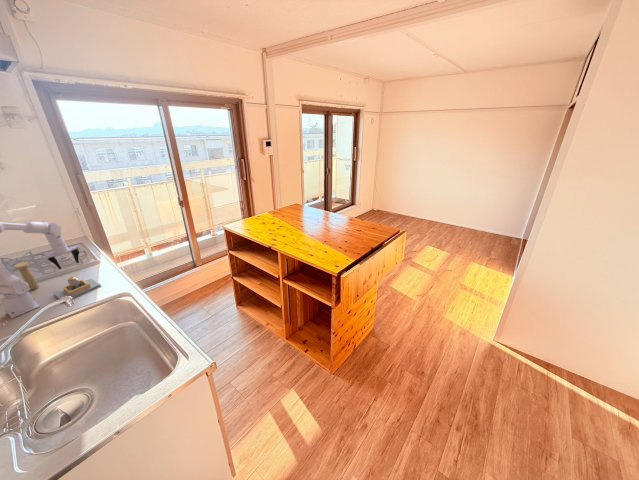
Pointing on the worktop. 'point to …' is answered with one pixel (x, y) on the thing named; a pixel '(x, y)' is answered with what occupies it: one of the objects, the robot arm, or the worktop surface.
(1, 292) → the robot arm
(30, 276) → the handle
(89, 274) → the worktop surface
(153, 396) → the worktop surface
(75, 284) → the valve stub
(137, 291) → the worktop surface
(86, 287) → the fitting base
